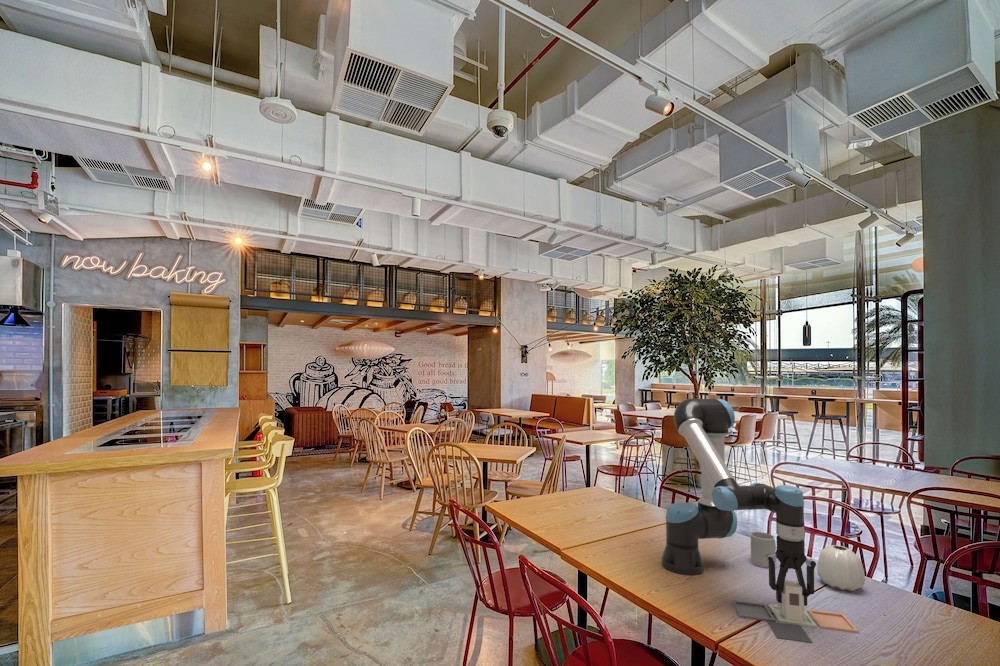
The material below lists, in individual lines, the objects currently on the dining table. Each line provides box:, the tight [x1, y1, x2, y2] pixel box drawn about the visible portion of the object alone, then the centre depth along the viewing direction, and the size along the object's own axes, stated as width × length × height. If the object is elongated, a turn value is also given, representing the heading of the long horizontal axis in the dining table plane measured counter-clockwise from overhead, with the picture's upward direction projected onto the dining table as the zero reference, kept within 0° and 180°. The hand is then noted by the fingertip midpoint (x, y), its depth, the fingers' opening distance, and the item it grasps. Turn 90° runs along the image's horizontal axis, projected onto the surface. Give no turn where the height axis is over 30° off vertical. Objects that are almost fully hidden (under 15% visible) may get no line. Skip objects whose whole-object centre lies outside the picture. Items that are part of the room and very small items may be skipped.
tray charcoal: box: [731, 599, 777, 622], centre depth 150 cm, size 10×10×1 cm
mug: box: [750, 531, 777, 569], centre depth 190 cm, size 12×8×11 cm
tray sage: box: [768, 604, 818, 629], centre depth 148 cm, size 10×10×1 cm
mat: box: [766, 621, 813, 644], centre depth 139 cm, size 9×9×1 cm
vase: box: [816, 544, 866, 592], centre depth 171 cm, size 14×14×13 cm
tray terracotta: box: [806, 609, 860, 634], centre depth 145 cm, size 10×10×1 cm
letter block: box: [782, 579, 803, 621], centre depth 148 cm, size 4×5×10 cm
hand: (791, 614), depth 148 cm, fingers closed on letter block, 4 cm apart
